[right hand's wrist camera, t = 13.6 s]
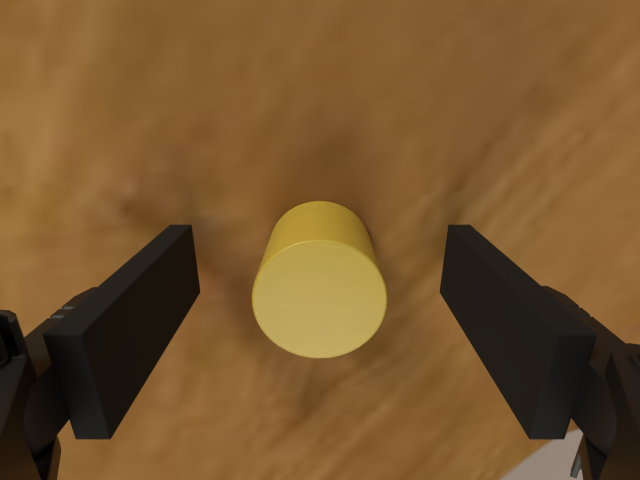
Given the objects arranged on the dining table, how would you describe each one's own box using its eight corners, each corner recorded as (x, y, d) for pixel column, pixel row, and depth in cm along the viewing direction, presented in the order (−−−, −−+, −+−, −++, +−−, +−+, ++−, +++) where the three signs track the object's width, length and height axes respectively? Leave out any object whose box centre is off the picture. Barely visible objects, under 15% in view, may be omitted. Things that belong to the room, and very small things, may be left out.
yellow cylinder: (306, 309, 16) (302, 378, 12) (249, 235, 14) (223, 286, 11) (388, 262, 15) (412, 320, 11) (334, 179, 14) (341, 212, 10)
